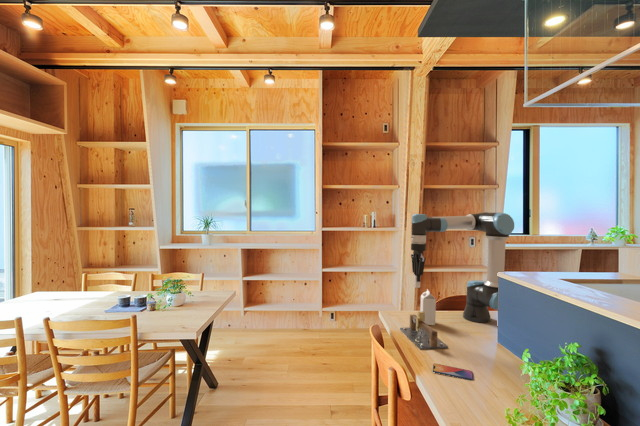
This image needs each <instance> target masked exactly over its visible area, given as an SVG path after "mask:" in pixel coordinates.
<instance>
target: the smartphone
mask: <svg viewBox="0 0 640 426" xmlns="http://www.w3.org/2000/svg"><path fill="white" fill-rule="evenodd" d="M433 372H435V373H434V374H436V373H440V374H439V375H441V374H445V375H444V376H446V375H450V376H449V377H452V376H454V377H453V378H457V377H458V379H462V378H463V379H462V380H469V381H473V380H474V374H473V371H472V370H469V369H465V368H459V367H454V366H449V365H444V364H440V363H433V366H432V373H433Z"/></svg>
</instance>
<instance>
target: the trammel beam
mask: <svg viewBox="0 0 640 426" xmlns="http://www.w3.org/2000/svg"><path fill="white" fill-rule="evenodd" d="M416 317H418V315H417V314H409V327H410V328H411V329H416ZM419 326H421V327H422V328H423V329H424V330H425V331H427V332H428V333H429V345H430V346H431V347H437V338H438V331H437V330H434V328H432V327H431V326H430V325H427V324H426V323H424V322H423V321H419Z"/></svg>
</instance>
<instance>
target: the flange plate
mask: <svg viewBox="0 0 640 426" xmlns="http://www.w3.org/2000/svg"><path fill="white" fill-rule="evenodd" d="M399 330H400V331H401V332H402V334H404V335H405V337H407V338H408V339H409V340H410V341H411V342H412V343H413V344H414V345H415V346H416V347H417V348H418V349H419V350H439V349H441V350H442V349H448V348H449V346H448V345H447V344H446V343H444V342H443V340H441V339H440V338H439V337H437V347H431V346H430V345H429V333H428V332H427V331H425V330H424V329H423V328H422V334H420V328H419V332H417V331H416V329H411V328H410V326H408V327H406V326H405V327H400V328H399Z"/></svg>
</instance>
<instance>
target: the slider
mask: <svg viewBox="0 0 640 426" xmlns="http://www.w3.org/2000/svg"><path fill="white" fill-rule="evenodd" d="M419 321H425V312H420V311H417V317H416V331H417V332H419V328H420V334H422V327H421V326H419Z"/></svg>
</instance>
